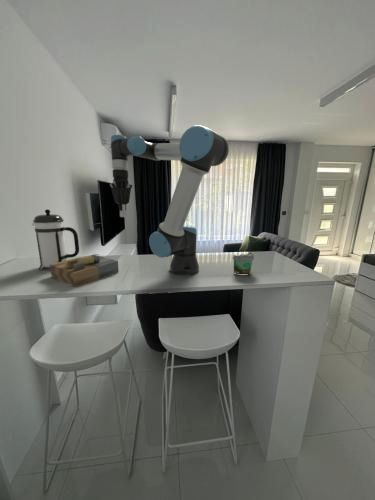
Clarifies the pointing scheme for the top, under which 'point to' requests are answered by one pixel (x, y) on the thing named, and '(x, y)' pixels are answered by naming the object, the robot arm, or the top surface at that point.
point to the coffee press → (52, 239)
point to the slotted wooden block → (84, 271)
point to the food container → (243, 263)
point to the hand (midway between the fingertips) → (122, 216)
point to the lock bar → (82, 260)
